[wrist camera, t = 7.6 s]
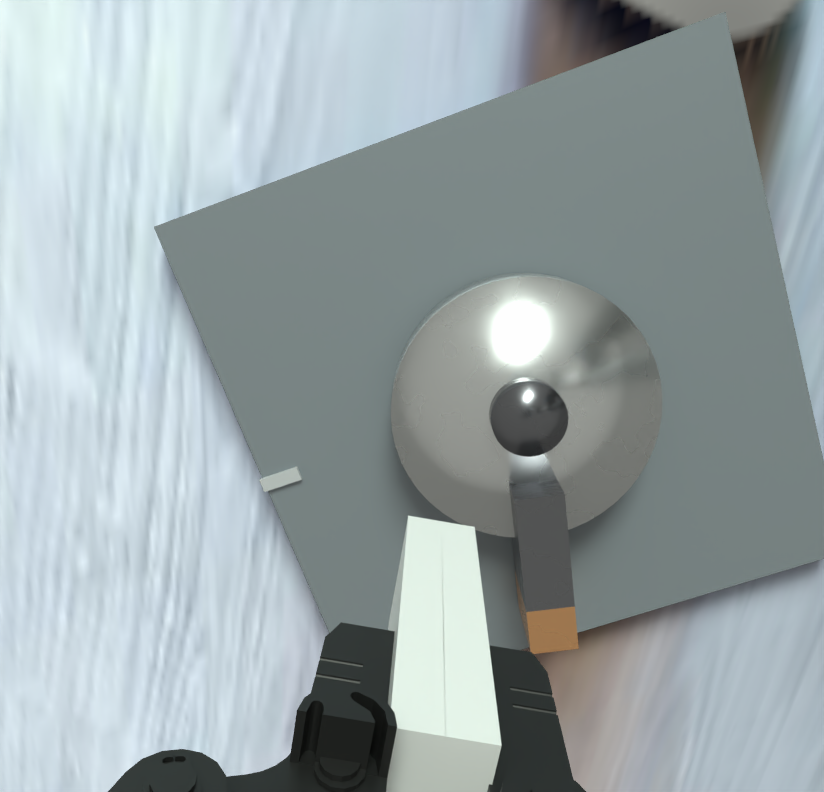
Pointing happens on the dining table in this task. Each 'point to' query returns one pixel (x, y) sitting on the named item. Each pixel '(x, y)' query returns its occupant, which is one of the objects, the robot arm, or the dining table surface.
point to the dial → (527, 424)
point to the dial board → (531, 253)
